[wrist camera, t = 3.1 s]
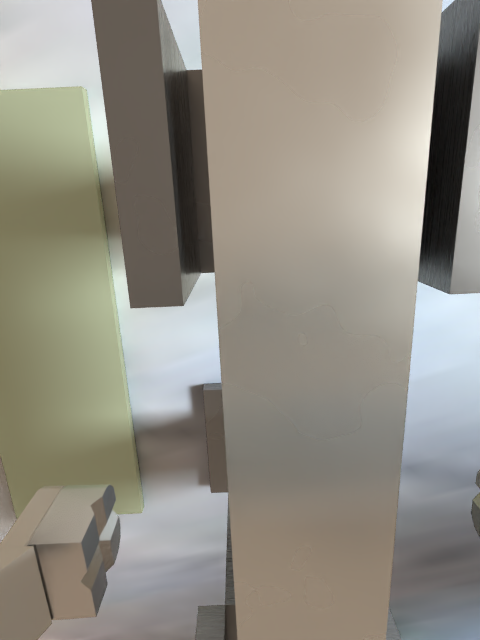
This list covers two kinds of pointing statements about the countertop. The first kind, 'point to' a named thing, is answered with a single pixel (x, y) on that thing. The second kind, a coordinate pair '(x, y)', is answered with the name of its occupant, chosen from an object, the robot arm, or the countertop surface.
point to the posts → (194, 193)
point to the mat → (58, 308)
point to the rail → (316, 293)
